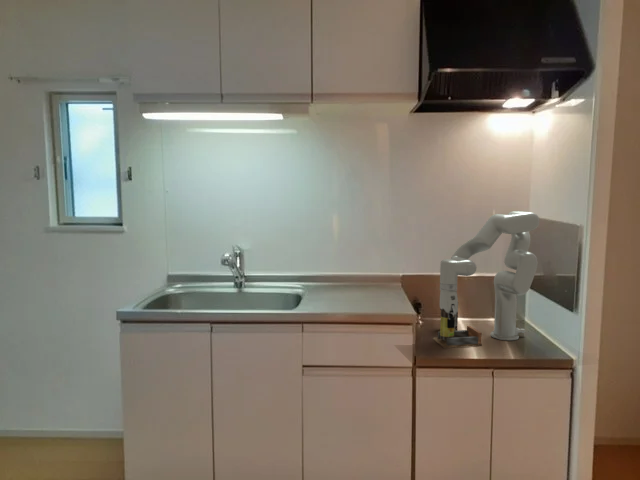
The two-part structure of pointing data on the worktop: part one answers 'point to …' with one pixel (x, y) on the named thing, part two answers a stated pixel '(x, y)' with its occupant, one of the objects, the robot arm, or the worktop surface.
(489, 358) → the worktop surface
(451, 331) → the sauce bottle
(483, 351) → the worktop surface
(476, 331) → the channel
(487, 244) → the robot arm
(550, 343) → the worktop surface
